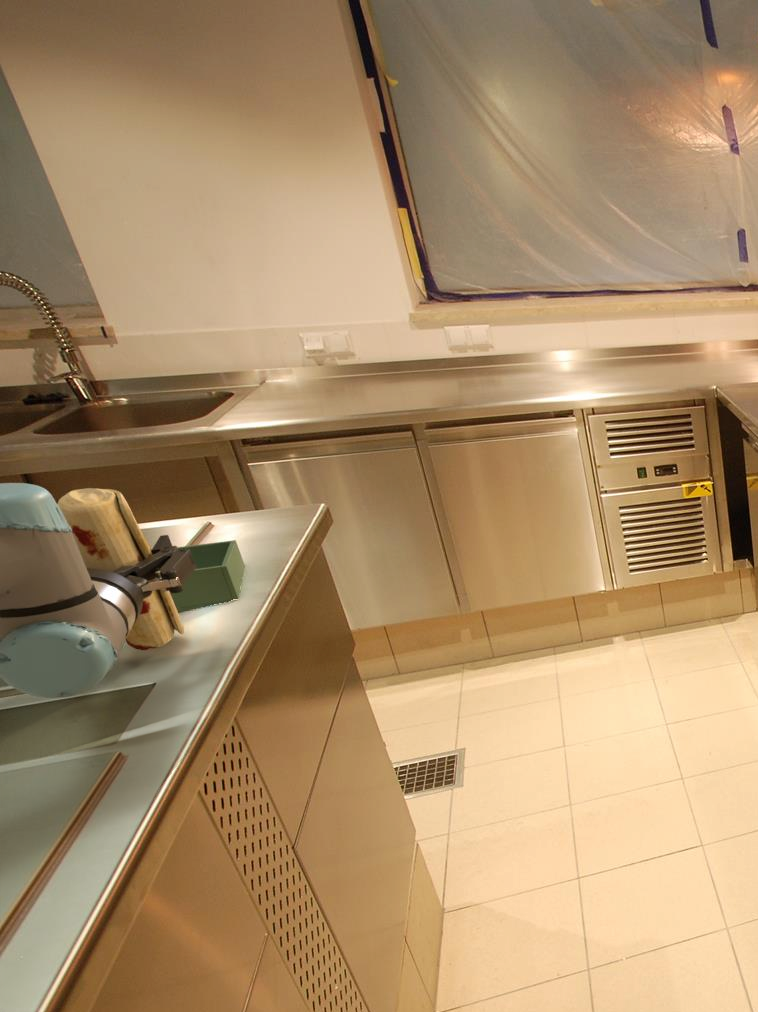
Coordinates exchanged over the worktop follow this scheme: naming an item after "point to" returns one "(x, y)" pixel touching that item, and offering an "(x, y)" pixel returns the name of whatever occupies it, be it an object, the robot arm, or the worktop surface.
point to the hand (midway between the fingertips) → (129, 549)
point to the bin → (211, 576)
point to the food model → (119, 556)
